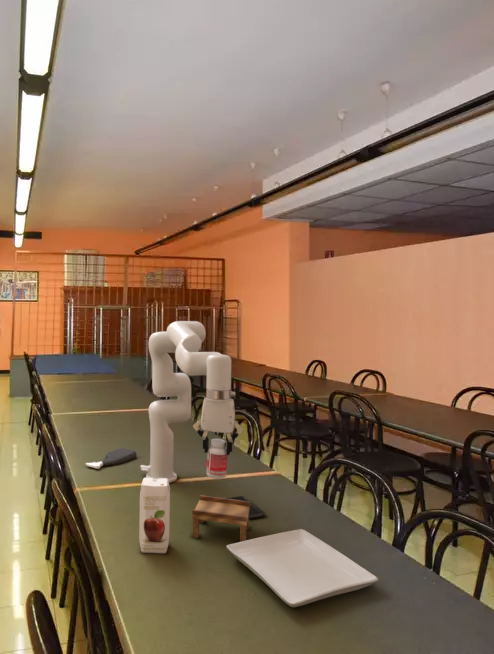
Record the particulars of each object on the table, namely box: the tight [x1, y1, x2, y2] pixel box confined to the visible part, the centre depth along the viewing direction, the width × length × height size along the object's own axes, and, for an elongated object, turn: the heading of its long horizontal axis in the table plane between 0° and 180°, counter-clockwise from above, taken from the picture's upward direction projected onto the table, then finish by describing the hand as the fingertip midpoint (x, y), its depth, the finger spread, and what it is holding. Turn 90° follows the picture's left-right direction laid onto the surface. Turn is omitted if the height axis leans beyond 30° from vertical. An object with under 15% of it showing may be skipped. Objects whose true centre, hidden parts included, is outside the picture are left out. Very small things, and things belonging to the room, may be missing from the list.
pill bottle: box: [205, 438, 228, 480], centre depth 139 cm, size 6×6×11 cm
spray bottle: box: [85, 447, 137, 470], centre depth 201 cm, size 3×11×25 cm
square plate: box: [226, 528, 379, 608], centre depth 116 cm, size 27×27×4 cm
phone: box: [225, 495, 266, 520], centre depth 155 cm, size 8×1×15 cm
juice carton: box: [138, 476, 171, 554], centre depth 128 cm, size 8×9×19 cm
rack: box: [191, 494, 251, 542], centre depth 138 cm, size 16×12×8 cm
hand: (217, 452), depth 139 cm, fingers closed on pill bottle, 6 cm apart
